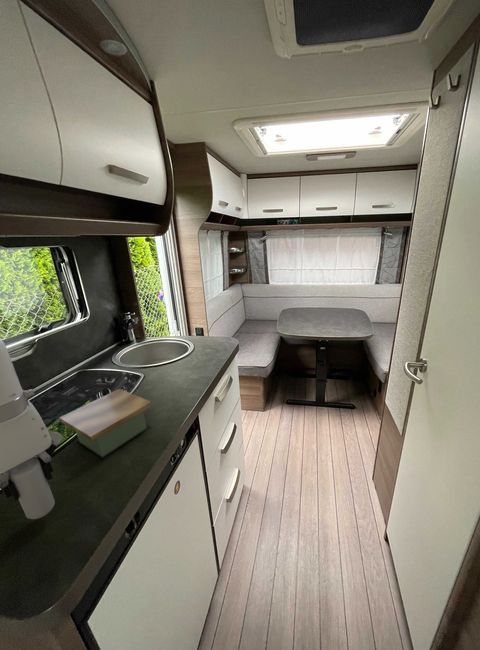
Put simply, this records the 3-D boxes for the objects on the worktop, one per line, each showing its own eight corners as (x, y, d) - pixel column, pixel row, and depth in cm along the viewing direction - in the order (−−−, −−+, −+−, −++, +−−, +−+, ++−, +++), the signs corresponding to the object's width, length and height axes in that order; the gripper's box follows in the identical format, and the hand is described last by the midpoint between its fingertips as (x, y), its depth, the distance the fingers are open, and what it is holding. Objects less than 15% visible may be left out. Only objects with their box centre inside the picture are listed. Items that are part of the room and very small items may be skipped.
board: (60, 422, 77) (58, 417, 77) (120, 392, 91) (119, 388, 91) (92, 441, 69) (90, 436, 69) (152, 406, 83) (151, 401, 83)
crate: (79, 443, 81) (71, 420, 78) (123, 417, 92) (118, 396, 89) (103, 458, 75) (95, 434, 72) (147, 429, 86) (142, 407, 83)
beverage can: (32, 503, 59) (13, 459, 54) (59, 497, 60) (42, 453, 55) (22, 524, 54) (0, 478, 50) (50, 517, 56) (32, 472, 51)
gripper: (44, 382, 56) (68, 452, 63) (-82, 427, 43) (-34, 510, 50) (63, 392, 53) (86, 465, 60) (-68, 445, 39) (-19, 532, 46)
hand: (31, 485), depth 55 cm, fingers closed on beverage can, 4 cm apart
